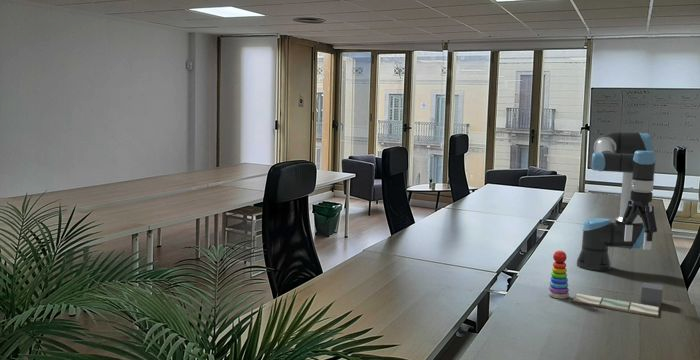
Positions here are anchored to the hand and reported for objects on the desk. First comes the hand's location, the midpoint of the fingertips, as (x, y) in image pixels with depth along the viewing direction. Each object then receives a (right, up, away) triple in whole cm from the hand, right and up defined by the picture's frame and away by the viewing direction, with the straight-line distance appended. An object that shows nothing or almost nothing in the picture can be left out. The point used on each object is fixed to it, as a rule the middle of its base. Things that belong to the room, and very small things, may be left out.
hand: (637, 245), depth 226 cm
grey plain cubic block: (+7, -23, +3) cm, 24 cm away
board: (-9, -23, -1) cm, 25 cm away
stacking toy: (-27, -22, +9) cm, 36 cm away
